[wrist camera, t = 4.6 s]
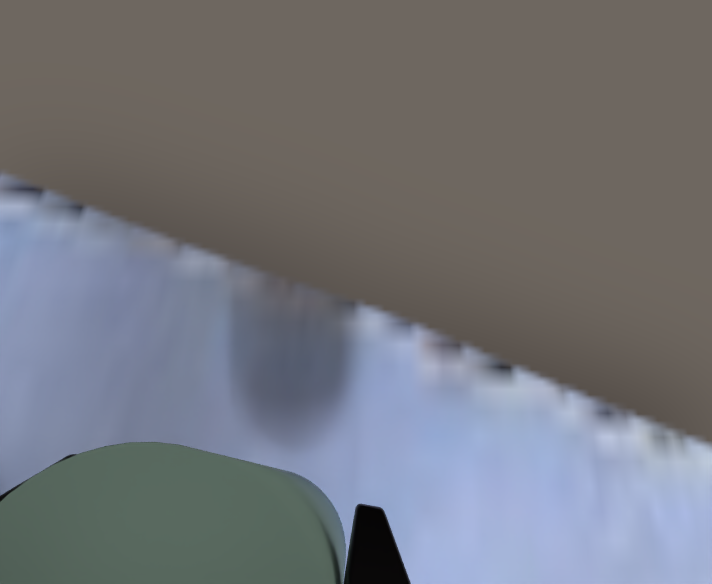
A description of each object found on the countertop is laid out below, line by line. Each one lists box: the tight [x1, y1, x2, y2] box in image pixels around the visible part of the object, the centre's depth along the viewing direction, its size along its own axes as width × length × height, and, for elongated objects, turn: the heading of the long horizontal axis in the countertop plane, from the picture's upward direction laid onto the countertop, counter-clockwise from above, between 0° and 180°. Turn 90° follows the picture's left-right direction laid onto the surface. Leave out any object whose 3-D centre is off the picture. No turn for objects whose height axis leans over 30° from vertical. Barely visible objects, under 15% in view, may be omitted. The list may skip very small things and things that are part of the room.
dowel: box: [0, 442, 346, 584], centre depth 10 cm, size 4×4×10 cm
